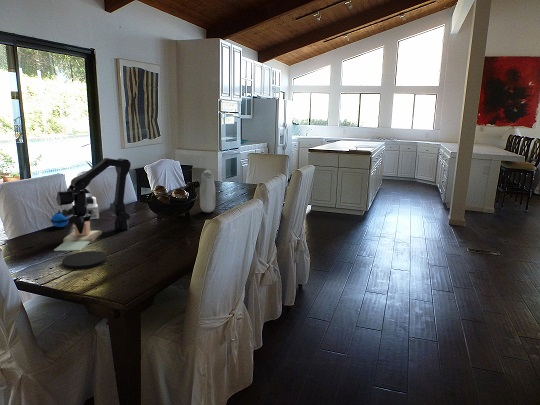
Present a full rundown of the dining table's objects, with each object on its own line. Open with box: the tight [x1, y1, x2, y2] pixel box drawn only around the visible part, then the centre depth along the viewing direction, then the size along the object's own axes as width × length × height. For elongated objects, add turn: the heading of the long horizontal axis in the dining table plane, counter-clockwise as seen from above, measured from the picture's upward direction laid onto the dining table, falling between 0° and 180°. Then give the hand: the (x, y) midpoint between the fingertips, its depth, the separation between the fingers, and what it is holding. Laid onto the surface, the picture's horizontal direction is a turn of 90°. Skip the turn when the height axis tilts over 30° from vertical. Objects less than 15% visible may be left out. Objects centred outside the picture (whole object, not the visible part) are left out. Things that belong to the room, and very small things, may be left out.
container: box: [86, 196, 100, 220], centre depth 236 cm, size 8×8×13 cm
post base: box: [63, 230, 103, 243], centre depth 200 cm, size 14×14×7 cm
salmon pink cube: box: [73, 220, 92, 235], centre depth 199 cm, size 6×6×6 cm
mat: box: [53, 241, 91, 252], centre depth 187 cm, size 12×12×1 cm
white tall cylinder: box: [199, 169, 216, 213], centre depth 255 cm, size 10×10×28 cm
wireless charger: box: [61, 250, 108, 271], centre depth 169 cm, size 18×18×2 cm
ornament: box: [50, 209, 70, 228], centre depth 216 cm, size 9×9×10 cm
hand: (82, 231), depth 200 cm, fingers closed on salmon pink cube, 6 cm apart
